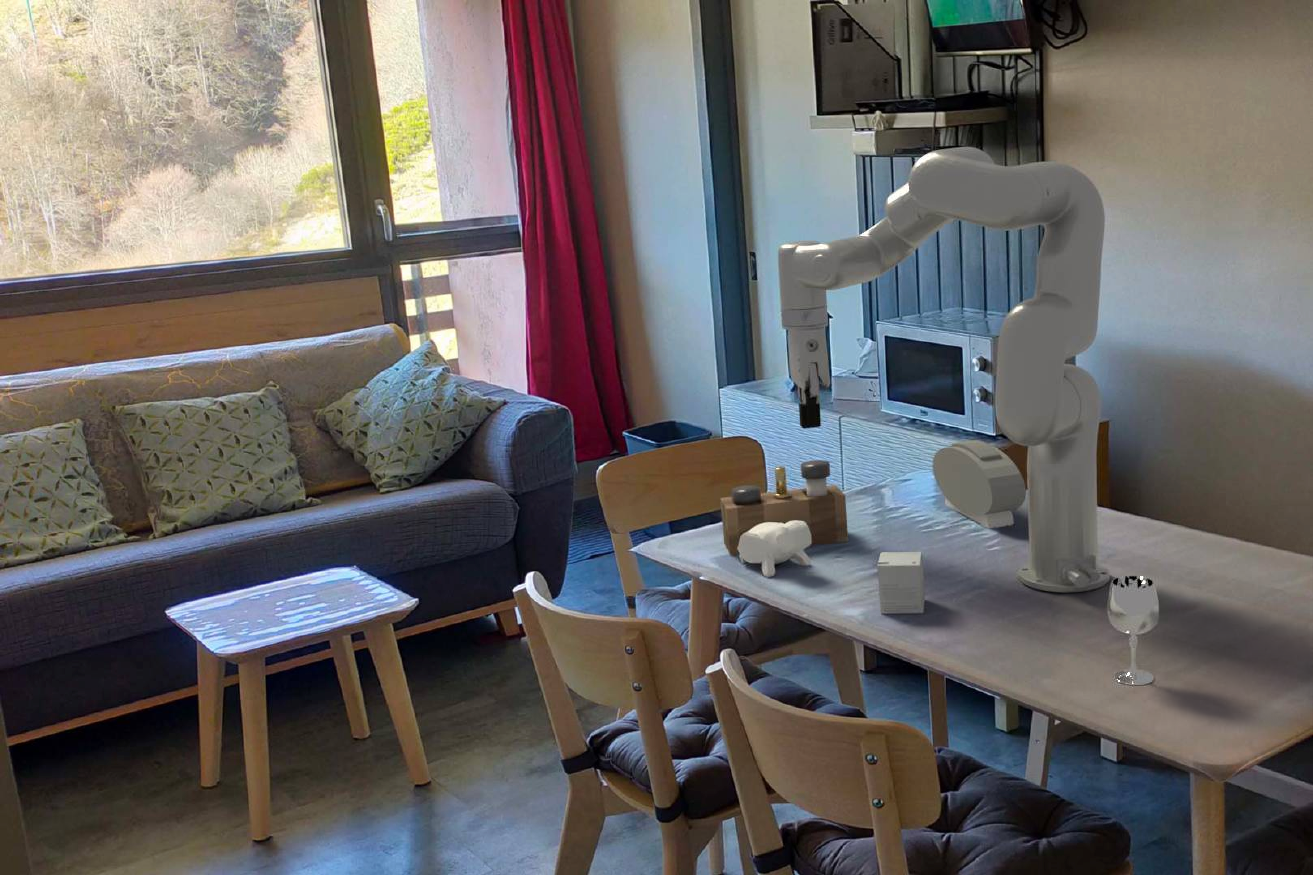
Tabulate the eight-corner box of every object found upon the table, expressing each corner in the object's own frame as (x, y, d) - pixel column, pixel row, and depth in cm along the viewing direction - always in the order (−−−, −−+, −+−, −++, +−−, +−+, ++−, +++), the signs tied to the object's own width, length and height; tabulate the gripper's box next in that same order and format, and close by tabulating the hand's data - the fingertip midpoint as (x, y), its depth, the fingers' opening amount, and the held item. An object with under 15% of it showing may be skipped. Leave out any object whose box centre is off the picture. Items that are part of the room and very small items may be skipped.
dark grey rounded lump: (766, 542, 214) (762, 491, 212) (738, 546, 214) (733, 494, 212) (761, 534, 219) (757, 484, 217) (733, 538, 218) (729, 487, 216)
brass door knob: (792, 497, 214) (790, 469, 213) (774, 499, 213) (772, 471, 212) (789, 493, 217) (786, 464, 216) (771, 495, 216) (769, 466, 215)
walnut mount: (848, 541, 214) (845, 495, 212) (730, 555, 213) (726, 508, 211) (838, 529, 221) (835, 484, 219) (724, 542, 219) (720, 498, 218)
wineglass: (1107, 685, 151) (1105, 589, 148) (1109, 666, 156) (1107, 573, 154) (1159, 688, 149) (1159, 591, 146) (1159, 669, 154) (1158, 574, 152)
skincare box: (925, 599, 185) (923, 550, 183) (923, 614, 179) (921, 564, 177) (882, 599, 186) (880, 551, 184) (879, 614, 180) (876, 564, 179)
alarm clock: (1028, 529, 212) (1025, 454, 209) (993, 534, 211) (990, 459, 208) (965, 496, 234) (962, 428, 231) (934, 500, 233) (930, 432, 230)
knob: (835, 517, 214) (832, 465, 212) (807, 520, 214) (804, 468, 212) (829, 510, 219) (825, 459, 217) (801, 513, 218) (798, 462, 217)
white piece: (740, 584, 207) (789, 571, 194) (725, 534, 208) (773, 517, 195) (782, 571, 211) (834, 558, 198) (768, 522, 212) (818, 505, 199)
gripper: (837, 321, 202) (843, 434, 206) (817, 310, 217) (822, 415, 221) (790, 326, 202) (797, 438, 206) (773, 314, 216) (779, 419, 220)
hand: (810, 426), depth 213 cm, fingers closed
